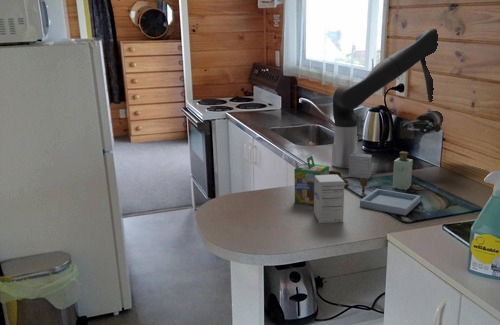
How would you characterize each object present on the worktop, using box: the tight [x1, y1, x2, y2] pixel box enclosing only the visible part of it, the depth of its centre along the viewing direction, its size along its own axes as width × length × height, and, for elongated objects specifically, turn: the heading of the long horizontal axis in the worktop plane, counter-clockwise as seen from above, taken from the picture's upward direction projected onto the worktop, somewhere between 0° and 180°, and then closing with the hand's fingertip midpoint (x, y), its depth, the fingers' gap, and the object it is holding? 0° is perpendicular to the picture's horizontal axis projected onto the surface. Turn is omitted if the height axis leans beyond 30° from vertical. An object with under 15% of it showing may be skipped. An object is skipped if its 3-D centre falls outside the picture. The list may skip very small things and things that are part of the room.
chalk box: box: [293, 155, 330, 206], centre depth 155 cm, size 9×9×15 cm
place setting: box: [329, 170, 368, 195], centre depth 169 cm, size 18×20×6 cm
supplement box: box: [313, 174, 345, 224], centre depth 139 cm, size 7×7×13 cm
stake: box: [398, 151, 409, 162], centre depth 167 cm, size 2×2×13 cm
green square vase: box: [392, 157, 414, 191], centre depth 167 cm, size 5×6×10 cm
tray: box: [359, 188, 422, 216], centre depth 151 cm, size 15×15×2 cm
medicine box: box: [348, 153, 373, 180], centre depth 182 cm, size 8×4×9 cm, turn 65°
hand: (415, 129), depth 172 cm, fingers open, 8 cm apart
